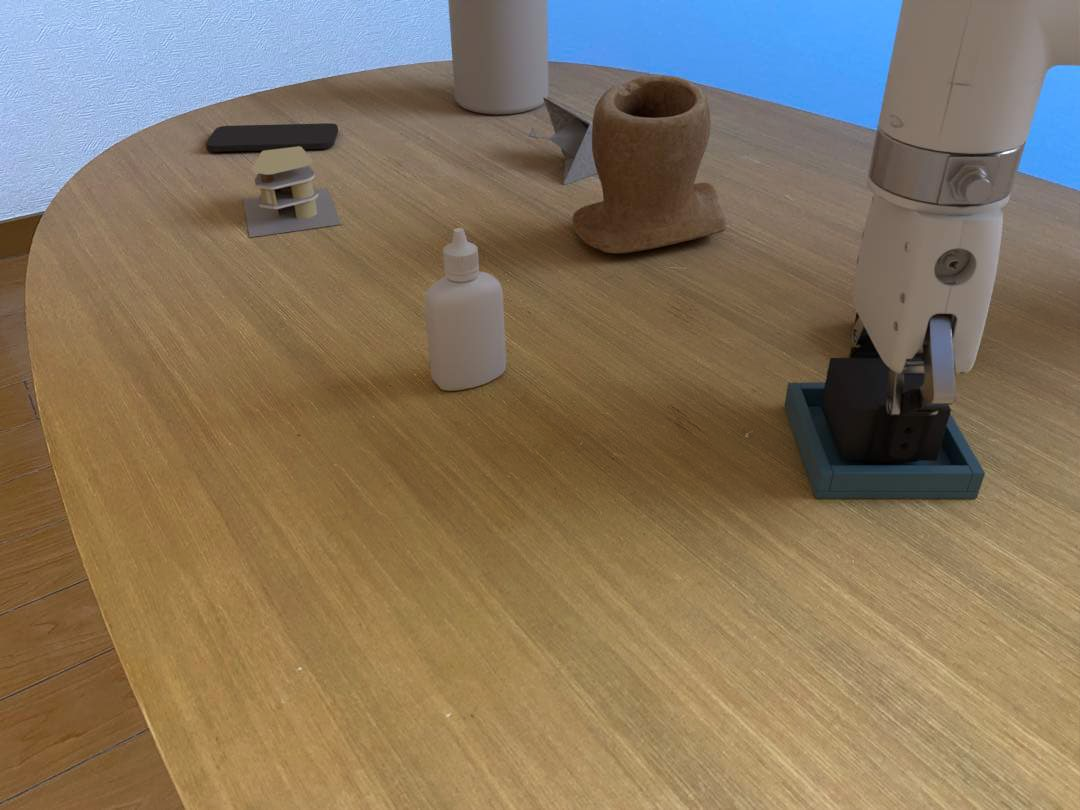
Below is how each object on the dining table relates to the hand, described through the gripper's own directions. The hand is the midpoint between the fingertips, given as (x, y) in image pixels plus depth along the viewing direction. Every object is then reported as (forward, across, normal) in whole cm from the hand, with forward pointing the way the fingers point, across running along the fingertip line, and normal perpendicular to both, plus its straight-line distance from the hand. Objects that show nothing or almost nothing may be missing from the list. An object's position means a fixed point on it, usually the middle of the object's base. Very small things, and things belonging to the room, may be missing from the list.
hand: (879, 425), depth 62 cm
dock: (+2, 0, 0) cm, 2 cm away
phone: (+2, +61, +56) cm, 83 cm away
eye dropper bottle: (+2, +9, +28) cm, 29 cm away
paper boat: (+2, +53, +20) cm, 57 cm away
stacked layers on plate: (+2, +40, +49) cm, 63 cm away
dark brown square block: (+1, 0, 0) cm, 1 cm away
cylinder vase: (+2, +76, +29) cm, 81 cm away
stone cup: (+2, +33, +12) cm, 35 cm away
